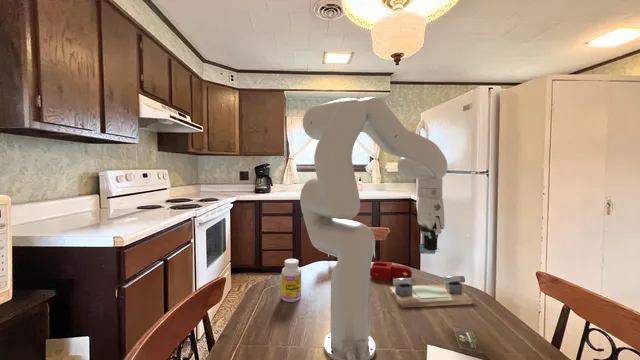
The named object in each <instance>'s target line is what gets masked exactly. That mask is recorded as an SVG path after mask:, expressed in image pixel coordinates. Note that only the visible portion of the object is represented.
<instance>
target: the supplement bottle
mask: <svg viewBox="0 0 640 360" xmlns="http://www.w3.org/2000/svg"><path fill="white" fill-rule="evenodd" d="M299 262H300V261H299V259H298V258H297V259H296V258H286V259H285V260H284V267H283V268H282V269H281V292H280V293H281V294H280V295H281V299H282V300H283V301H284V302H287V303H294V302H297V301H299V300H300V299H301V297H302V269H301V268H300V267H299Z"/></svg>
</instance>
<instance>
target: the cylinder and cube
mask: <svg viewBox="0 0 640 360" xmlns="http://www.w3.org/2000/svg"><path fill="white" fill-rule="evenodd" d="M442 282H443V284H446V288H445V289H446V290H447V291H448V293H449V294H460V295H462V292H463V283H465V282H466V277H465V276H464V275H451V276H450V275H447V276H443V277H442ZM461 283H462V284H461ZM392 285H393V286H394V287H395V292H396V293H397V294H398V295H400V296H401V297H408V296H412V287H413V286H416V280H415V278H414V277H411V278H396V279H392Z"/></svg>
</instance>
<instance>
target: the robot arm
mask: <svg viewBox="0 0 640 360" xmlns="http://www.w3.org/2000/svg"><path fill="white" fill-rule="evenodd" d="M302 128H303V130H304V132H305V134H306V135H307V136H308V137H309V138H311V139H313V140H316V141H318V142H317V144H316V148H315V151H314V158H313V163H314V168H315V174H316V177H314V178H310V179H308V180H307V181H306V182H304V183H305V184H304V185H303V187H302V188H301V191H300V196H299V201H300V207H301V208H300V209H301V212H302V216H303V220H304V222H305V223H304V224H305V227H306V230H307V234H308V237H309V240H310V242H311V245H312V246H313V247H314V248H315V249H317V250H318V251H319V252H322V253H325V254H327V255H330V256H332V257H335V258H337V262H336V264H335V265H334V267H333V269H332V272H331V276H330V326H329V327H330V332H329V334H327V336H326V337H325V338H324V342H323V348H324V349H323V350H324V352H325V354H326V355H327V356H328V357H329V358H330V359H331V360H372V359H373V357H374V356H375V354H376V343H375V341H374V340H373V337H371V336H370V312H371V311H370V308H371V303H370V302H371V297H370V296H371V292H370V291H371V276H370V271H371V268H372V261H373V256H374V252H375V246H376V238H375V233H374V232H373V230H372V229H371V228H370V227H369V226H368V225H366V224H365V223H362V222H359V221H355V220H351V219H354V218H355V217H357V215H358V214H359V212H360V210H361V209H360V208H361V199H360V193H359V189H358V185H357V184H358V183H357V179H356V175H355V170H354V163H353V150H354V147H355V144H356V143H357V142H356V141H357V139H358V137H359V135H360V134H361V133H365V134H366V135H367V136H368V138H370V139H371V140H372V141H373V142H374V143H375V144H376V145H377V146H378V147H379V149H380V150H381V151H383V152H384V153H386V154H389V155H391V156H394V157H399V160H398V163H397V171H398V173H399V174H400V176H402V177H403V178H406V179H413V180H415V179H416V180H417V198H418V201H417V212H416V213H417V215H416V218H417V223H418V226H419V225H421V224H422V223H424V224H425V227H426V228H428V229H429V232H428V238H427V250H435V251H438V249H437V248H438V238H439V235H441V234H442V230H444V228H445V226H446V225H445V223H446V222H445V207H444V200H443V177H445V176H446V175H447V172H448V161H447V158H446V157H445V154H444V152H443V151H442V150H441V149H440V147H439V146H438V144H436V143H435V141H434V142H433V141H432V140H431V139H429V138H427V137H424V136H422V135H420V134H418V133H416V132H413V131H411V130H409V129H407V128H406V127H405V126H404V124H403V122H401V121H400V120H399V118H398V117H397V116H396V114H395V113H394V112H393V110H392V109H391V108H390V107H389V106H388V105H387V103H386V102H385V101H384V100H383V99H382V98H380V97H377V96H376V97H375V96H370V97H364V98H360V99H357V98H355V97H354V98H350V97H346V98H340V99H337V100H332V101H329V102H325V103H321V104H317V105H313V106H311V107H309V108H308V109H307V110H306V111H305V113H304V114H303V118H302ZM433 227H435V228H434V229H432V228H433ZM431 231H433V232H432V233H431ZM420 234H421V237H420V238H421V241H420V243H421V242H422V231H420ZM424 235H425V233H424Z"/></svg>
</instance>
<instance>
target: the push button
mask: <svg viewBox="0 0 640 360" xmlns="http://www.w3.org/2000/svg"><path fill="white" fill-rule="evenodd" d="M418 227H419V230H420V232H421V231H422V234H421V235H422V242H421V241H420V243H419V244H418V252H419V253H420V254H423V255H424V254H425V255H426V254H427V255H431V254H432V255H435V254H436V253H437V252H439V253H440V252H441V251H440V250H441V249H440V247H437V250H427V238H428V232H429V229H428V228H426V227H425V224H424V223H422V224H421V225H419V224H418ZM434 228H435V227H433V228H432V229H434ZM432 232H433V231H431V233H432ZM424 233H425V235H424Z"/></svg>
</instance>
